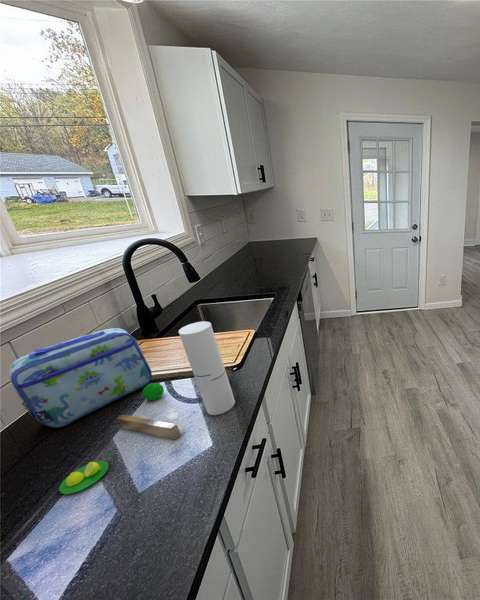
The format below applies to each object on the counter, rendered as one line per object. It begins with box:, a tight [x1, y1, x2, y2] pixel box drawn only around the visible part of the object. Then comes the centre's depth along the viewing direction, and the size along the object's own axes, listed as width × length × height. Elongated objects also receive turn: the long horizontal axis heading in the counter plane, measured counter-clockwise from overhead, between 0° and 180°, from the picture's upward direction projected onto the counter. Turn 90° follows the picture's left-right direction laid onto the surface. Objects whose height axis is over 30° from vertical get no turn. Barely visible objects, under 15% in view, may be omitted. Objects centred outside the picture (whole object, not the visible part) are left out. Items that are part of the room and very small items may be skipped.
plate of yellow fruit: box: [58, 460, 110, 495], centre depth 68 cm, size 8×8×3 cm
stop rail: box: [116, 413, 182, 440], centre depth 80 cm, size 18×2×4 cm, turn 75°
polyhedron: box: [141, 382, 165, 401], centre depth 93 cm, size 5×5×5 cm
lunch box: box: [8, 327, 153, 429], centre depth 89 cm, size 26×11×21 cm, turn 144°
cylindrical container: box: [178, 321, 236, 416], centre depth 84 cm, size 7×7×25 cm
